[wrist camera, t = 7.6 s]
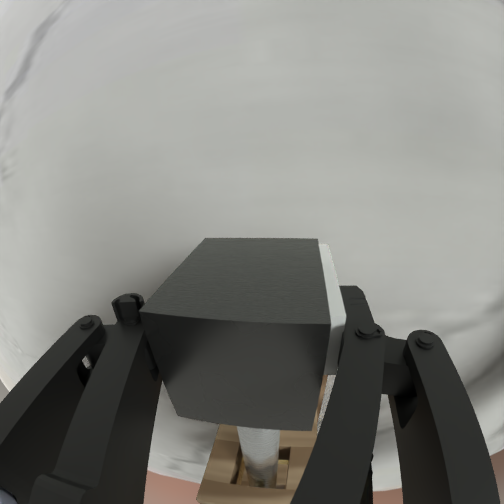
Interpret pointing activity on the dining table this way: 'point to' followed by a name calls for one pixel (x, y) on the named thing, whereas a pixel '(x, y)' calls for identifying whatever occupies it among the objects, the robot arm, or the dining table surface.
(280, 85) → the dining table surface
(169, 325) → the shaft
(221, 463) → the bearing rig
